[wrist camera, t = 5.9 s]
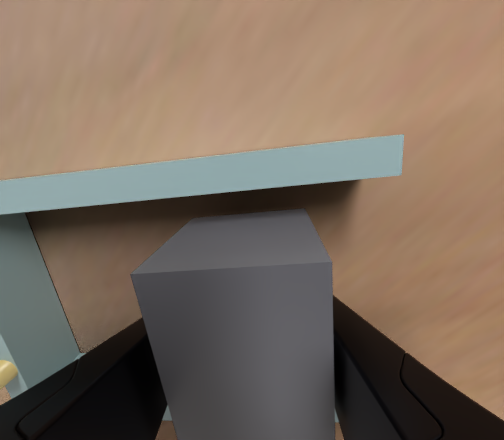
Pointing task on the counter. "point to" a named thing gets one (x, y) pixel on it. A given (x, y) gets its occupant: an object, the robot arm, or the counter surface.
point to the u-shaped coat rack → (128, 190)
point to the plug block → (243, 327)
